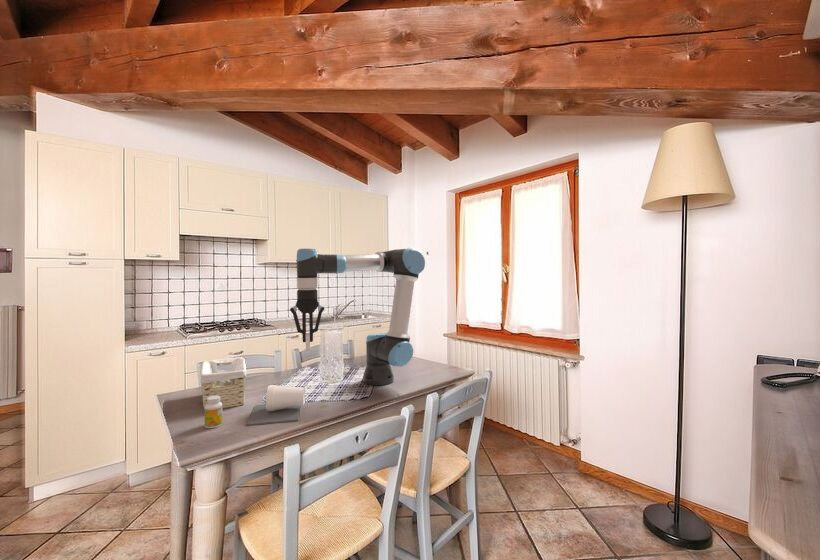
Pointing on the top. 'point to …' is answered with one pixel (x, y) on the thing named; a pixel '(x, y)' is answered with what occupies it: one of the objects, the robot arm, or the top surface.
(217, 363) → the storage basket
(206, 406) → the supplement bottle
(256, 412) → the charcoal mat
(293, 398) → the foam cup
